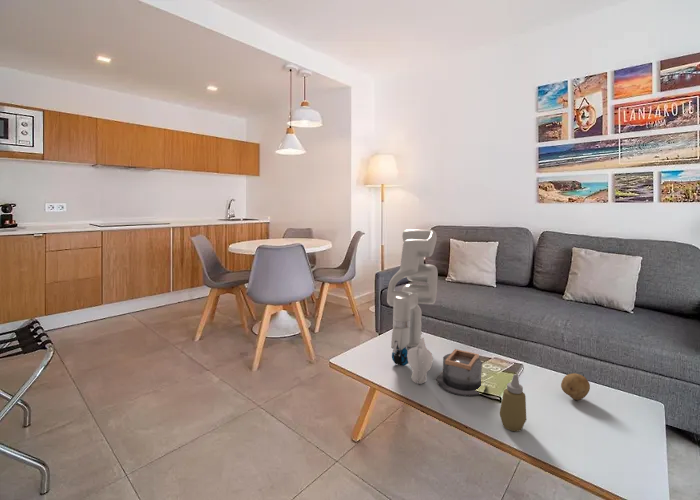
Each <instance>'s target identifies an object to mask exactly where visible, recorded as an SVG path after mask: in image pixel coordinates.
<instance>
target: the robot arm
mask: <svg viewBox="0 0 700 500" xmlns="http://www.w3.org/2000/svg"><path fill="white" fill-rule="evenodd" d="M401 237H402V241H403V243H402V250H401V258H400V267H399V269H398V270H397V272H395V273H394V275H393V276H392V277H391V279H390V280H389V283H388V287H387V293H386V294H387V296H386V302H387V304H388V305H389V306H390V307H393V309H392V310H393V316H392V327H393V328H392V332H391V344H390V345H391V348H390V349H392V352H393V353H394V355H395V362H394V361H393V363H394V364H395V365H397V364H399V365H398V366H400V365H401V363H402V356H401V351H402V349H403V348H406V349H407V350H408V348H414V347H416V346H417V345H418V344H419V343H420V344H421V341H420V340H421V338H422V334H423V331H422V314H423V313H422V309H421V307H420V305H419V304H421V305H435V303H436V300H437V294H438V277H439V276H438V273H439V271H438V267H437V266H436V265H434V264H428V263H425V261H424V260H425V258H430V257H432V255H434V251H435V247H436V244H437V239H438V234H437V232H436V231H435V230H433V229H418V228H416V229H415V228H409V229H405V230H404V231H403V232H402V236H401ZM405 278H406V279H407V280H408V281H409V282H413V283H408V284H405V285H403V287H402V289H401V290H395V288H396V286H397V284H398V282H400V281H401V280H403V279H405ZM415 282H416V284H415ZM417 283H425V284H426V283H427V285H425V284H417ZM398 348H399V349H398ZM397 350H399V352H397Z"/></svg>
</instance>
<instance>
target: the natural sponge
mask: <svg viewBox="0 0 700 500" xmlns="http://www.w3.org/2000/svg"><path fill="white" fill-rule="evenodd" d="M560 387H561V390H562V391H563V393H564V394H566V395H567V396H569V397H570V398H571V399H573V400H575V401H580V400H583V399H584V398H585V397H586V396H587V395H588V393H589V392H590V390H591V383H590V382H589V380H588V379H587V378H586V377H585V376H584V375H583V374H580V373H576V372H575V373H574V372H573V373H569V374H566V375H564V377H563V378H562V380H561V383H560Z"/></svg>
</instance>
